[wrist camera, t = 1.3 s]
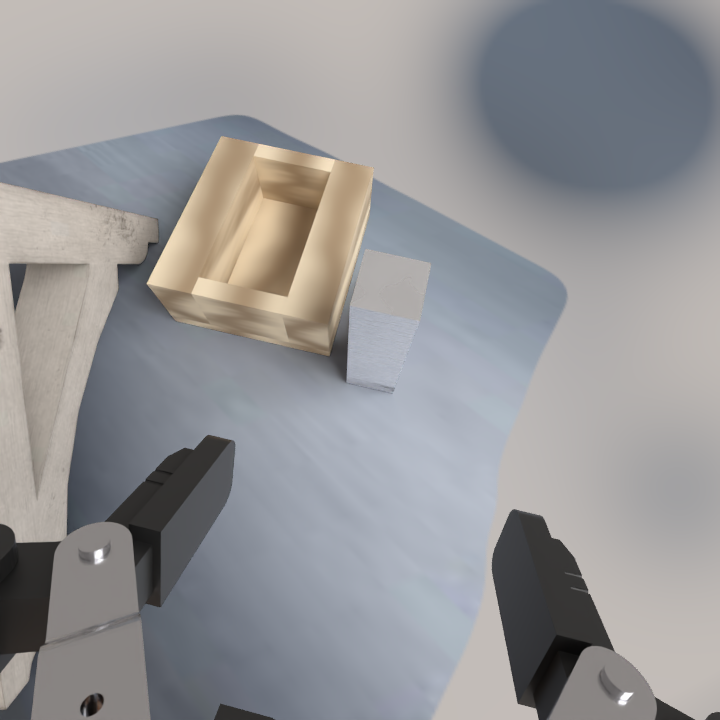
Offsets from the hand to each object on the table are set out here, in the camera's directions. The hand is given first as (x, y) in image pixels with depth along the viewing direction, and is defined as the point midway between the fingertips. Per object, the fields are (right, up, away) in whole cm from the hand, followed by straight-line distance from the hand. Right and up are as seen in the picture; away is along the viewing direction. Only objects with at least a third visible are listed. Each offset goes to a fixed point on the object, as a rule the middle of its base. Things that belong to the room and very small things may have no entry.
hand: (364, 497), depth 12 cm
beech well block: (-8, +13, +28) cm, 32 cm away
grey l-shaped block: (+2, +6, +25) cm, 26 cm away
